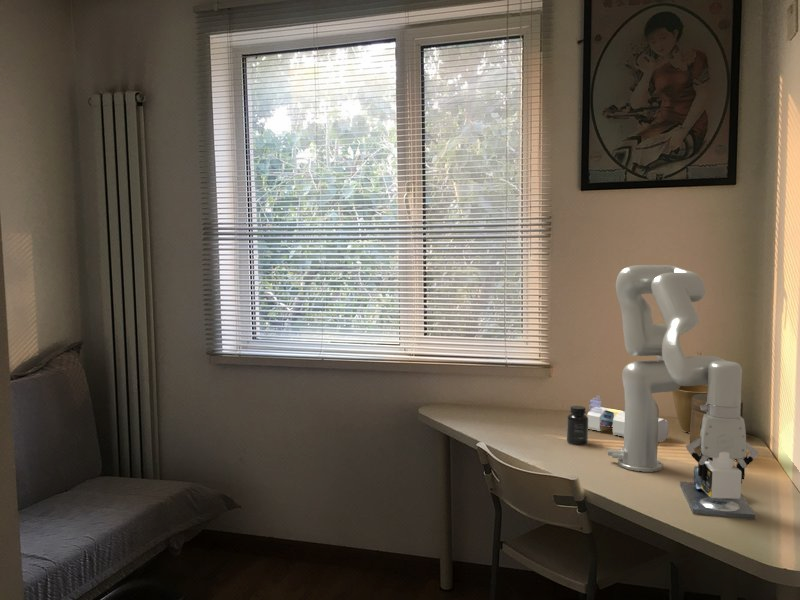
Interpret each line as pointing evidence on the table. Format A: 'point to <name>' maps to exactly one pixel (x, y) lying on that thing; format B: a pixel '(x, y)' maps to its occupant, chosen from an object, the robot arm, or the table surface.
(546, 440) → the table surface
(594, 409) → the diorama
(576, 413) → the supplement bottle
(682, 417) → the plant pot
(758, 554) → the table surface
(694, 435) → the wooden container
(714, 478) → the medicine bottle
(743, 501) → the motor base
